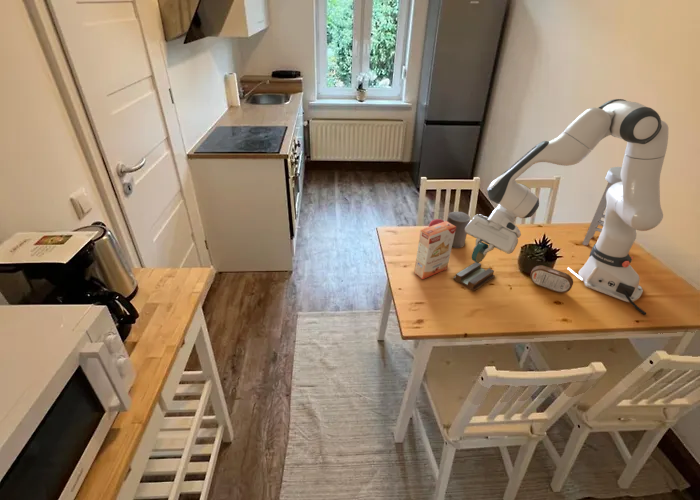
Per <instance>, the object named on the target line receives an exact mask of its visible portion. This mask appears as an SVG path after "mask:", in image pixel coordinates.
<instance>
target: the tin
mask: <svg viewBox="0 0 700 500" xmlns="http://www.w3.org/2000/svg"><path fill="white" fill-rule="evenodd" d="M529 278H530V280H531V281H532V283H534V284H535V285H536V286H539V287H542V288H545V289H547V290H550V291H553V292H556V293H560V294H563V293H564V294H565V293H568V292H569V291H571V289H572V288H573V286H574V279H573V277H572V276H571V275H569V274H568V273H567V272H565V271H564V272H563V271H561V270H558V269H555V268H552V267H549V266H545V265H536V266H534V267H533V268H532V270H531V271H530V277H529Z"/></svg>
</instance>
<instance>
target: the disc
mask: <svg viewBox="0 0 700 500" xmlns="http://www.w3.org/2000/svg"><path fill="white" fill-rule="evenodd" d="M475 246H476V245H475ZM475 246H474V247H475ZM487 248H489V244H487V243H485V242H483V241H482V242H481V243H479V244H478V245H477V246H476V247H475V249H474V248H473V250H472V253H471V260H472V262H473V263H475V262H476V263H481V262H483V260H484V259H485V257H486V256H487V254H486V255H483V254H482V253H481V252H482V251H483V249H487Z"/></svg>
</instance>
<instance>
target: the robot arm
mask: <svg viewBox="0 0 700 500" xmlns="http://www.w3.org/2000/svg"><path fill="white" fill-rule="evenodd" d="M609 136H612V137H614V138H617V139H620V140H623V141H624V142H626V147H625V150H624V154H623V160H622V164H621V167H622V169H621V180H622V182H618V183H615V184H613V185H612V186H611V187H610V188H609V189H608V190H607V193H606V200H607V206H606V209H605V212H604V213H605V214H604V215H605V218H603V221H604V224H603V226H602V228H601V229H602V231H601V232H599V236H598V238H597V241H596V243H595V244H593V246H592V248H591V250H590V252H589V255H588V259H587V260H586V262H585V263H584V264H583V266H582V267H581V268H580V269H579V270H578V273H576V272H575V271H574V270H573V269H571V268H570V267H567V271H569V272H570V273H571V274H573V275H574V276H576V277H577V279H579V280H581V281H583V283H584V286H585V287H587V288H589V289H590V290H593V291H597V292H599V293H602V294H604V295H607V296H610V297H612V298H615V299H617V300H620V301H623V302H626V303H630V304H631V306H633V307H634V308H635V309H636V310H637V311H639V312H640V313H641V314H643V315H644V316H645V315H647V312H646V311H644V310H643V309H642V308H640V307H639V306H638V305H637V304H636V303H635V302H636V301H638V300H639V299H640V298H641V296H643V291H644V290H643V287H642V286H641V285H639V284H640V280H641V279H640V275H639V273H637V271H636V270H635V269H634V268H633V266H632V265H631V263H632V262H633V259H634V256H633V255H632V256H631V255H630V254H629V253H630V251H631V249H632V247H633V245H634V243H635V242H636V239H637V231H638V232H639V231H640V232H646V231H650V230H653V229H655V228H657V227H658V226H659V225H660V224H661V223H662V221H663V219H664V212H663V209H662V206H661V188H660V187H661V185H660V184H661V183H660V182H661V173H662V169H663V165H664V161H665V156H666V154H667V149H668V143H669V124H668V123H666V121H664V120H662V119H661V115H660V114H659V112H657V111H656V110H655V109H653V108H652V107H648V106H646V105H644V104H642V103H639V102H636V101H630V100H626V99H622V98H615V99H610V100H608V101H606V102H604V103H603V104H601V105H600V106H598V107H589V108H587V109H585V110H584V111H582V113H580V114H579V115H578V116H577V117H576V118H574V119H573V120H572V121H571V122H570V123H569V124H568V125H567V126H566V127H565V129H564V130H563V131H562V132H560V134H558V136H556V137H555V138H552V139H551V140H543V141H540V142H539V143H538V144H536V145H535V146H534V147H532V148H531V149H530V150H529V151H528V152H526V153H524V155H523V156H521V157H520V158H519V159H518V160H516V161H515V163H513V164H512V165H511V166H510V167H508V169H506V171H504V172H503V173H501V174H500V175H498V177H496V178H495V179H494V180H492V181H491V182H490V184H489V185H488V187H487V191H486V192H487V197H488V199H489V200H490V201H492V202H494V203H496V205H497V206H496V207H495V208H494V209H493V210H492V212H491V213H490V214H489V216H485V215H483V214H481V213H479V214H478V213H477V214H475V215H473V216H472V218H471V219H470V221H469V223H468V225H467V226H466V227H465V232H466V233H467V235H469V236H471V237H473V238H475V246H474V247H473V250H474V249H475V247H476V246H477V245H478V244H479V243H481V242H483V243H485V244H487V245H488V248H487V249H483V251H482V252H481V253H482V254H483V255H486V256H487V254H488V253H489V252H491V251H493V250H494V249H497V250H499V251H500V252H503V253H505V254H507V255H511V254H512V253H513V252H514V251H515V249H516V248H517V245H518V244H519V238H520V237H521V236H522V233H521V231H520V228H519V227H518V226H517V225H516V224H515V222H516V219H517V218H519V219H529V218H531V217H533V215H534V214H535V213H536V212H537V210H538V209H539V207H540V199H539V197H538V196H537V195H536V194H535V193H533V192H532V190H531V189H530V188H529V186H527V185H525V184H522V183H518V182H517V181H516V180H517V179H518V178H519V177H521V175H523V174H524V173H525V172H526V171H528V170H529V169H530V168H531V167H533V166H534V165H535V164H538V163H547V164H551V165H552V164H553V165H558V166H563V167H565V166H573V165H574V166H575V165H577V164H579V163H581V162H582V161H583V160H584V159H585V158H586V157H588V155H589V154H591V152H592V151H593V150H594V149H595V148H596V147H597V146H598V144H599V143H600V142H601V141H602V140H603V139H605V138H607V137H609Z"/></svg>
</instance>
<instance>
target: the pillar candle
mask: <svg viewBox="0 0 700 500" xmlns="http://www.w3.org/2000/svg"><path fill="white" fill-rule="evenodd" d="M446 221H447V222H449V223H451V224H452V225H454V226H456V231H455V235H454V240H453V244H452V248H454V249H460V248H462V247H464V246H465V244H466V238H467V235H468V234H467V233H466V232H465V227H466V226H467V225H468V223H469V222H470V221H471V216H470V215H469V214H467V213H466V212H463V211H451V212H449V213H448V215H447V218H446Z"/></svg>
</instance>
